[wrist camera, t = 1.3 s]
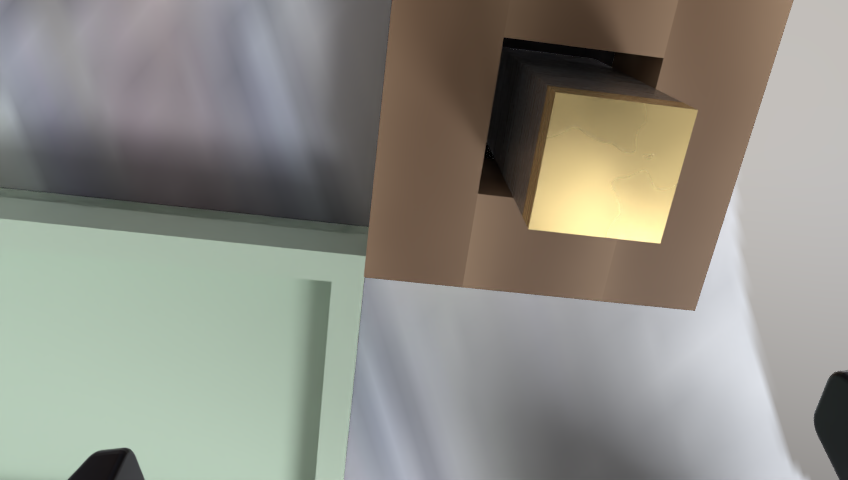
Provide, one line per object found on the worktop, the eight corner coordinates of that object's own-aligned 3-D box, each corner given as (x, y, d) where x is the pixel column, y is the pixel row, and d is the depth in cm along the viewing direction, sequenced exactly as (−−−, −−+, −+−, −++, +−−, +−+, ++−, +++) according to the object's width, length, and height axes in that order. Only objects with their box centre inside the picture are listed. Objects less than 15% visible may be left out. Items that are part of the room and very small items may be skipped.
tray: (369, 227, 23) (366, 256, 21) (338, 532, 28) (332, 582, 26) (-119, 174, 22) (-180, 200, 19) (-56, 504, 27) (-99, 554, 25)
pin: (594, 58, 21) (698, 110, 14) (574, 150, 22) (660, 243, 15) (500, 46, 21) (556, 92, 13) (485, 140, 22) (528, 229, 15)
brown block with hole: (733, -46, 20) (808, -48, 16) (649, 256, 24) (694, 310, 20) (402, -94, 19) (403, -107, 16) (369, 227, 23) (363, 277, 19)
